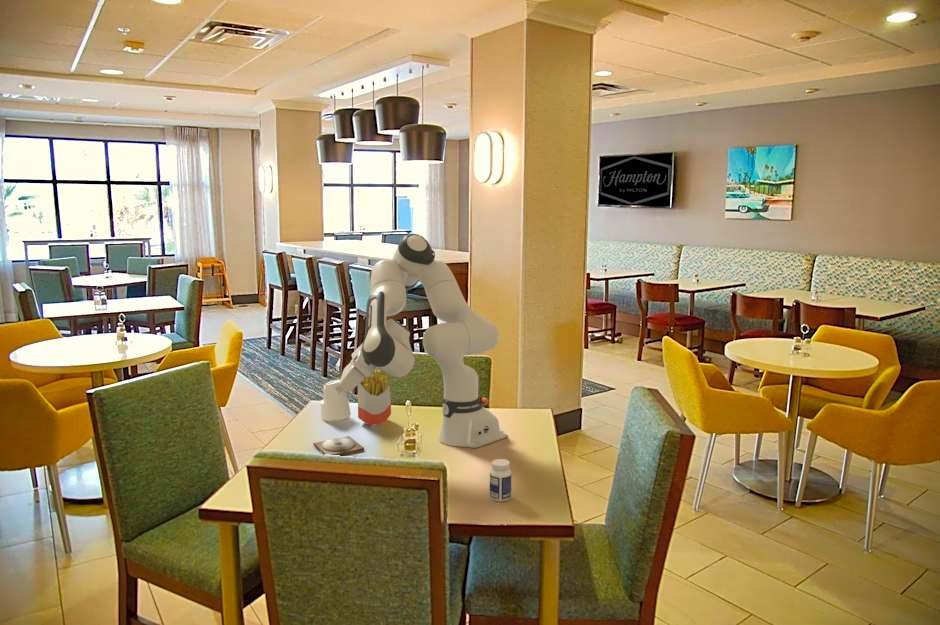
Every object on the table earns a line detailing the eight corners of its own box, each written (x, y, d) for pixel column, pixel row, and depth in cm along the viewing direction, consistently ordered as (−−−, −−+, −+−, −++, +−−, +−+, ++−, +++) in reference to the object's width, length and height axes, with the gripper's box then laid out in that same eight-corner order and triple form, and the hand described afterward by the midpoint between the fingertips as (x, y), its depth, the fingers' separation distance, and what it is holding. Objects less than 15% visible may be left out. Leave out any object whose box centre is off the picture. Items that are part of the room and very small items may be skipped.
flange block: (348, 439, 221) (348, 434, 221) (364, 450, 211) (364, 445, 211) (313, 446, 214) (313, 441, 214) (327, 458, 205) (327, 453, 204)
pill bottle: (510, 492, 183) (510, 457, 181) (512, 502, 177) (512, 466, 175) (488, 493, 182) (489, 457, 181) (490, 502, 177) (490, 466, 175)
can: (347, 420, 208) (340, 383, 205) (327, 422, 209) (320, 385, 206) (353, 412, 214) (346, 376, 211) (333, 414, 215) (326, 378, 212)
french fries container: (391, 421, 238) (391, 371, 235) (365, 427, 231) (364, 376, 228) (384, 417, 242) (383, 368, 239) (358, 424, 235) (357, 374, 232)
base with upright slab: (329, 412, 248) (328, 380, 246) (351, 414, 245) (350, 382, 243) (316, 419, 239) (315, 386, 237) (338, 422, 236) (338, 389, 234)
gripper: (360, 346, 219) (330, 376, 219) (355, 361, 199) (322, 394, 199) (374, 359, 220) (344, 389, 221) (371, 376, 200) (338, 408, 201)
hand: (334, 392), depth 210 cm, fingers closed on can, 4 cm apart
